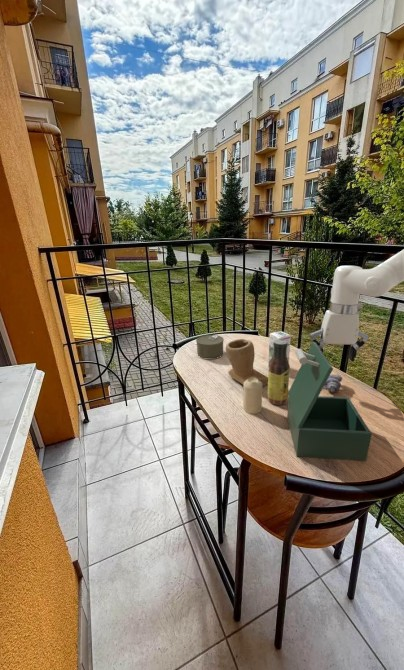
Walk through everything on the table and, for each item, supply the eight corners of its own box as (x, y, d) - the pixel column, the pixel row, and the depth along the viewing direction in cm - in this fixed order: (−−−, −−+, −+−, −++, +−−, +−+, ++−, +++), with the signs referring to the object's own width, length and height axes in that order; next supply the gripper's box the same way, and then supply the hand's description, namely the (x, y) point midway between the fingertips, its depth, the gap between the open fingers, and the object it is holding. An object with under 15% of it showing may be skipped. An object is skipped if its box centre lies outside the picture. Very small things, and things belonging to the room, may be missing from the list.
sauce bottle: (286, 407, 85) (291, 347, 78) (265, 404, 87) (268, 345, 80) (287, 396, 91) (292, 339, 84) (268, 393, 93) (271, 337, 86)
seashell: (330, 384, 99) (330, 400, 91) (321, 372, 99) (320, 387, 90) (344, 378, 96) (346, 394, 88) (335, 366, 96) (336, 380, 87)
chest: (344, 421, 78) (348, 397, 76) (366, 461, 65) (371, 433, 62) (287, 418, 80) (288, 395, 78) (296, 456, 67) (299, 429, 64)
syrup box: (289, 369, 108) (291, 334, 103) (277, 373, 106) (279, 337, 101) (279, 364, 113) (281, 330, 108) (267, 367, 110) (269, 333, 105)
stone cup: (220, 375, 106) (219, 338, 100) (246, 368, 111) (246, 332, 105) (243, 394, 93) (243, 353, 88) (271, 385, 98) (273, 345, 93)
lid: (315, 342, 71) (295, 335, 72) (333, 368, 58) (308, 360, 58) (290, 394, 78) (271, 388, 78) (300, 428, 64) (278, 421, 64)
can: (191, 355, 124) (190, 341, 121) (206, 346, 133) (206, 333, 131) (214, 361, 117) (213, 346, 115) (228, 351, 126) (228, 337, 124)
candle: (259, 415, 82) (261, 385, 79) (241, 411, 84) (241, 382, 81) (262, 404, 87) (264, 376, 84) (245, 401, 89) (245, 374, 86)
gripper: (368, 305, 87) (358, 355, 93) (310, 304, 89) (304, 353, 95) (379, 311, 80) (368, 365, 86) (316, 311, 82) (309, 363, 88)
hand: (335, 359), depth 91 cm, fingers open, 9 cm apart
